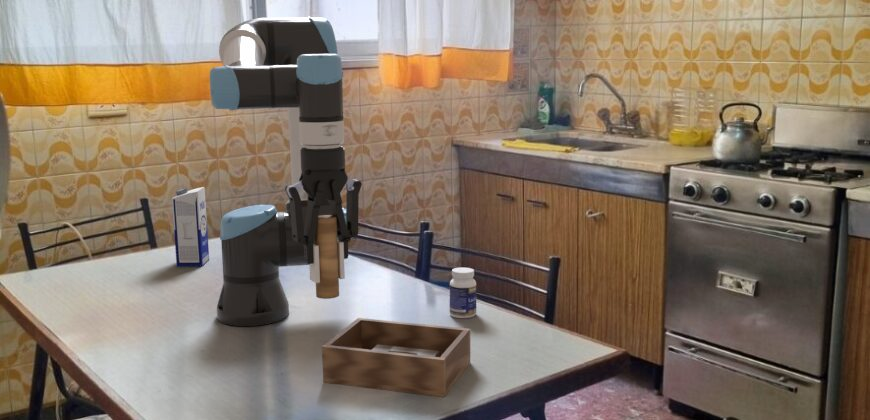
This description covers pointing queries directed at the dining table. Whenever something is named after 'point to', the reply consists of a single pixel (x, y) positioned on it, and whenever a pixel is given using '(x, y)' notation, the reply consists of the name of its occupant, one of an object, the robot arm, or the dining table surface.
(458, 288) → the pill bottle
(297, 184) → the robot arm
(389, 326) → the box
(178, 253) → the milk carton
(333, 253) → the dowel
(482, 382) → the dining table surface
